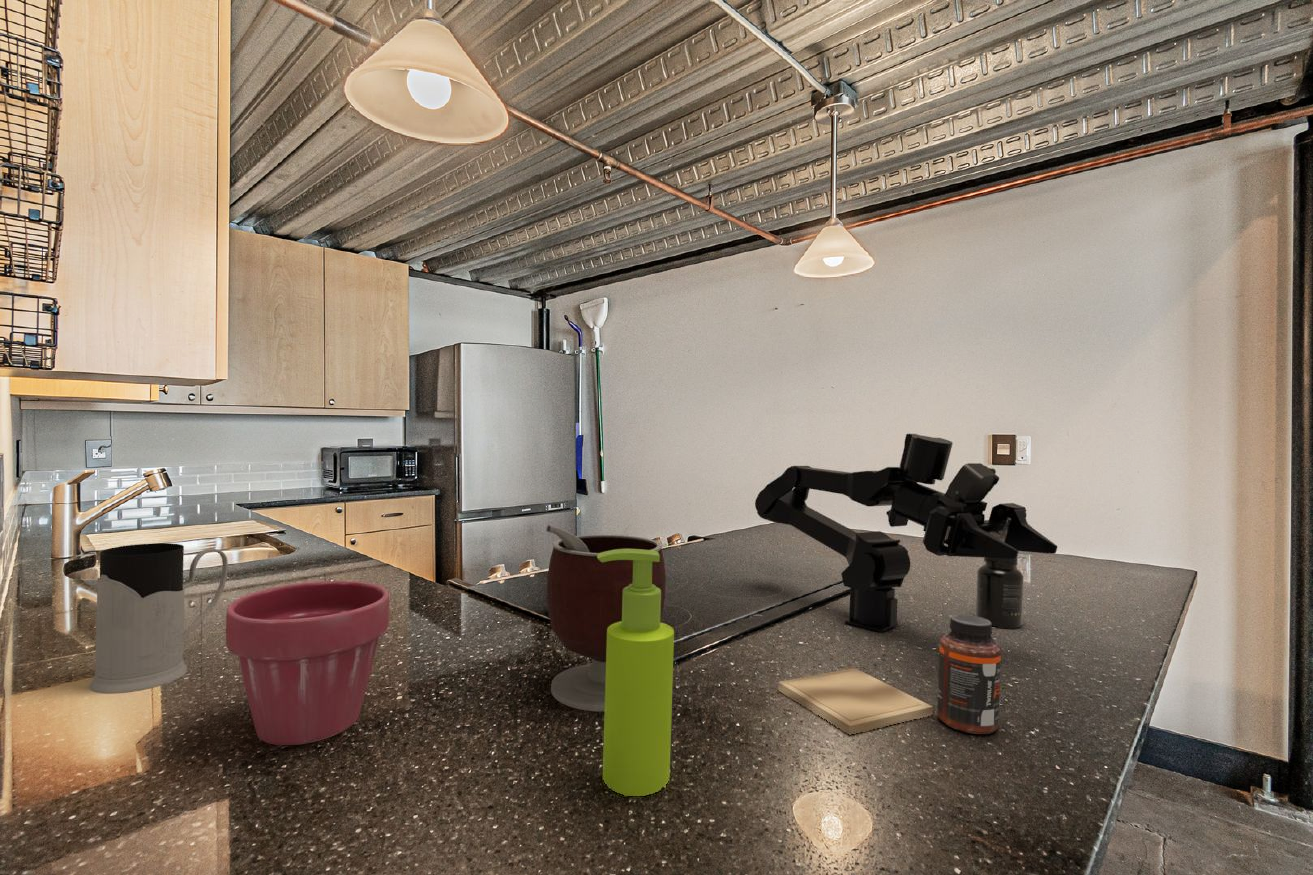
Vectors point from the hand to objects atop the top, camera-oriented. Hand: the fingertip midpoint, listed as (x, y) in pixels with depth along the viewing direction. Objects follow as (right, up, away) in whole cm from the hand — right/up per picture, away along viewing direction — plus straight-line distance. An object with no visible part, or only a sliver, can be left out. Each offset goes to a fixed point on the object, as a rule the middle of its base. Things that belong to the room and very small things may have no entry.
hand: (1037, 552), depth 80 cm
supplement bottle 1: (-15, -16, -13) cm, 26 cm away
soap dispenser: (-51, -15, -25) cm, 59 cm away
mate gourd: (-56, -15, -7) cm, 58 cm away
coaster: (-26, -16, -8) cm, 32 cm away
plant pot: (-84, -14, -17) cm, 87 cm away
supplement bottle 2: (+9, -17, +25) cm, 32 cm away
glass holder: (-108, -13, -5) cm, 109 cm away
